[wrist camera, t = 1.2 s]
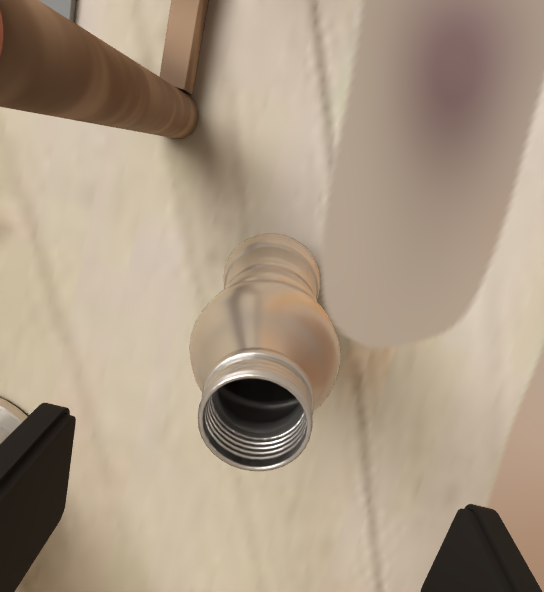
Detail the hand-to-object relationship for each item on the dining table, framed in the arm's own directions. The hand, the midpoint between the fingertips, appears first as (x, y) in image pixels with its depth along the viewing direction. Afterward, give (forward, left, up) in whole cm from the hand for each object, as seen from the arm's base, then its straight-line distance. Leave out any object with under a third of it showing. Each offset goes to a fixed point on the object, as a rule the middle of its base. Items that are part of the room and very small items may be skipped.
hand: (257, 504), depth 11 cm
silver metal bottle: (0, 0, -24) cm, 24 cm away
